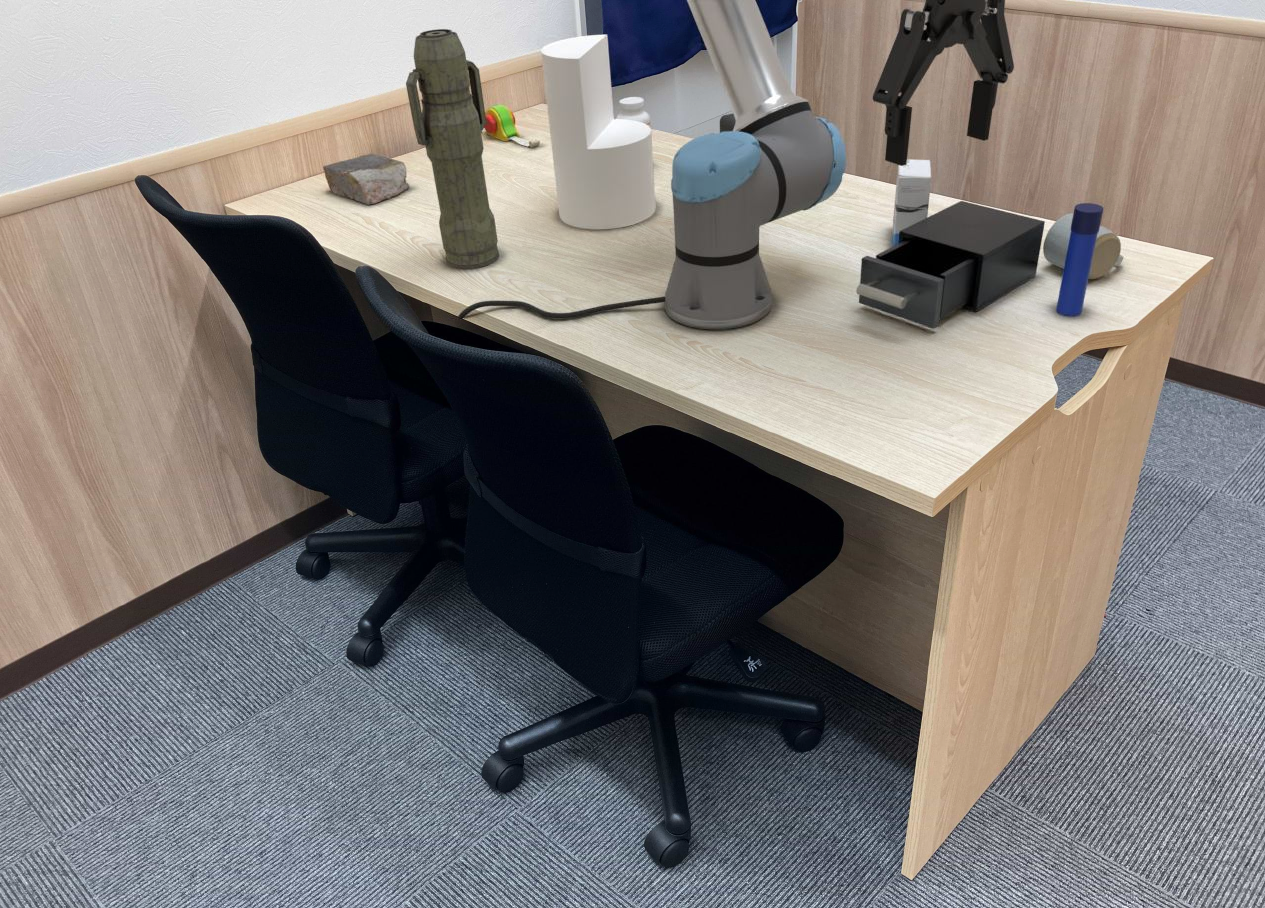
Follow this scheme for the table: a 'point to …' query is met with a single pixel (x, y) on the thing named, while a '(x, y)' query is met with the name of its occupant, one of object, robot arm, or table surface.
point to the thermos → (454, 145)
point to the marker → (1079, 258)
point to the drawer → (918, 281)
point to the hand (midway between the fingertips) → (937, 150)
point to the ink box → (911, 195)
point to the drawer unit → (985, 245)
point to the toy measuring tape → (504, 126)
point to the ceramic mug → (1103, 252)
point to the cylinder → (594, 140)
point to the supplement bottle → (633, 110)
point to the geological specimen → (367, 178)
